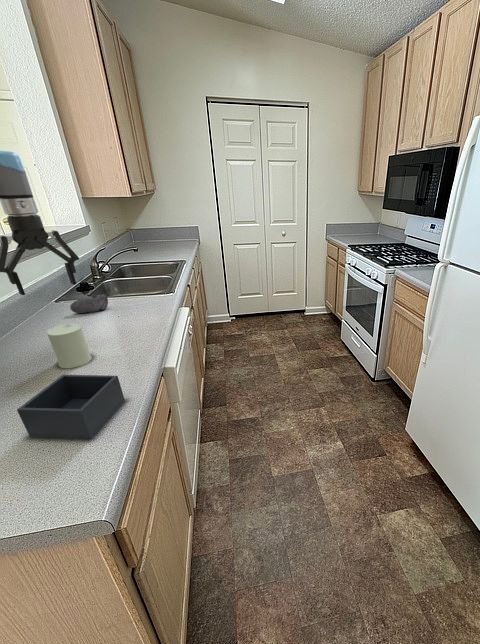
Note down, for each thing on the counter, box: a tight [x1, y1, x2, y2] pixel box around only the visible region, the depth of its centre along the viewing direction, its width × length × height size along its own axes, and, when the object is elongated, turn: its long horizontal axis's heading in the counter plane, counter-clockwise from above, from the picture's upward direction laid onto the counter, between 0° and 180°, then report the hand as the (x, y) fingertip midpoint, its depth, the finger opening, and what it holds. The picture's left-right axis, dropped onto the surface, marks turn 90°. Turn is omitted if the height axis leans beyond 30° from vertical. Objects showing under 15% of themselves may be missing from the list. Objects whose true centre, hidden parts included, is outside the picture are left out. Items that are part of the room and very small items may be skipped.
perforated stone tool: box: [70, 293, 109, 314], centre depth 148 cm, size 15×5×7 cm, turn 119°
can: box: [46, 323, 93, 369], centre depth 105 cm, size 9×9×12 cm
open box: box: [16, 374, 126, 440], centre depth 80 cm, size 15×15×8 cm
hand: (49, 288), depth 102 cm, fingers open, 13 cm apart
